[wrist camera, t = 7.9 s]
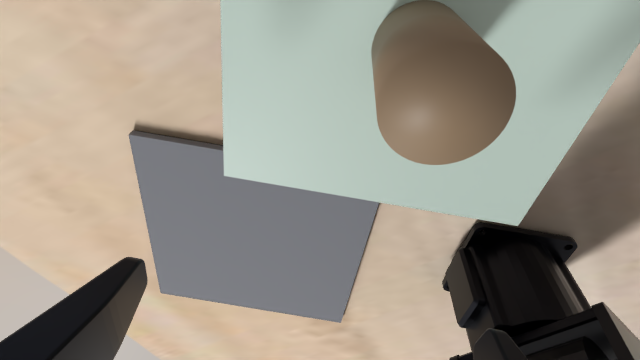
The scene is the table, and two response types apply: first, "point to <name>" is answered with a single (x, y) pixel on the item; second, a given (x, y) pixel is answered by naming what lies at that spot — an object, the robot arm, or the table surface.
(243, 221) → the rubber mat
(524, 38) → the board
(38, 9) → the table surface
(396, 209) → the table surface
